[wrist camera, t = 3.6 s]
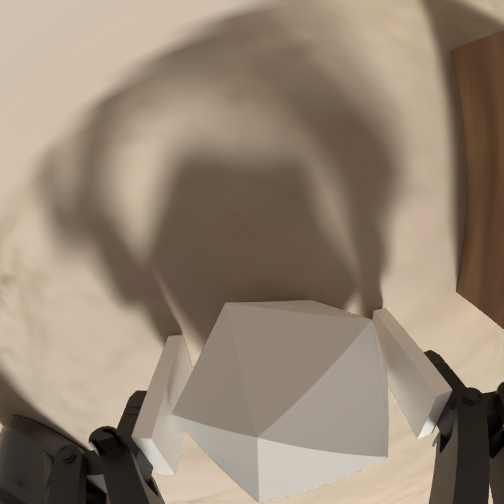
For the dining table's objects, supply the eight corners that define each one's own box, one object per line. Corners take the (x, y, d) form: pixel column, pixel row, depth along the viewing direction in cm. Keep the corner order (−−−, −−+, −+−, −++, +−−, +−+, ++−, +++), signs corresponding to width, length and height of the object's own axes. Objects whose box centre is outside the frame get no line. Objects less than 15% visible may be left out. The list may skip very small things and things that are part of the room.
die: (193, 256, 13) (107, 453, 8) (387, 223, 9) (343, 554, 3) (270, 336, 18) (227, 478, 12) (406, 332, 14) (381, 508, 8)
